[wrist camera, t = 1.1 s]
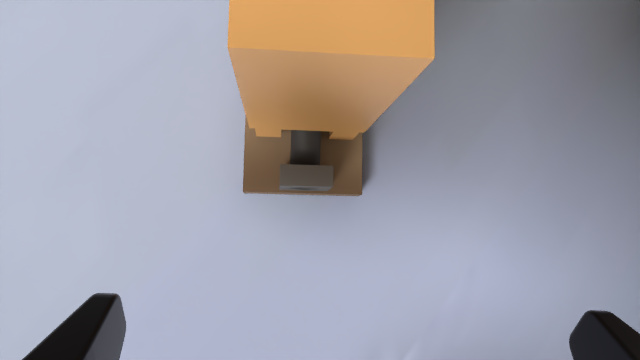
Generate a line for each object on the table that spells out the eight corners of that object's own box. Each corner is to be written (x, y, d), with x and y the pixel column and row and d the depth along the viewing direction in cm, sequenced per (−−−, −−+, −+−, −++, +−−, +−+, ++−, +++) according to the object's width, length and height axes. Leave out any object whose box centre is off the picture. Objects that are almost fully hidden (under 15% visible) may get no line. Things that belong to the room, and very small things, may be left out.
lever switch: (357, 196, 21) (380, 187, 16) (244, 193, 20) (235, 183, 16) (360, -58, 22) (382, -132, 17) (253, -66, 21) (248, -145, 17)
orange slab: (357, 140, 19) (434, 58, 10) (251, 136, 19) (227, 47, 10) (358, 82, 20) (434, -51, 10) (253, 77, 19) (231, -67, 10)
